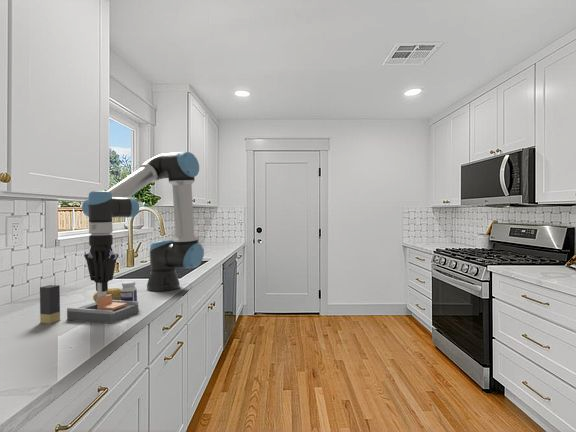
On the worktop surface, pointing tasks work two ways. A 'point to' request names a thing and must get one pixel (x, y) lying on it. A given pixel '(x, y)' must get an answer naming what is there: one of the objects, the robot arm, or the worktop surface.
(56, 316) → the plug
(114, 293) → the potato
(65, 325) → the worktop surface
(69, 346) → the worktop surface
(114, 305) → the shutter
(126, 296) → the pill bottle
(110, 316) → the grey slab
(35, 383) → the worktop surface
